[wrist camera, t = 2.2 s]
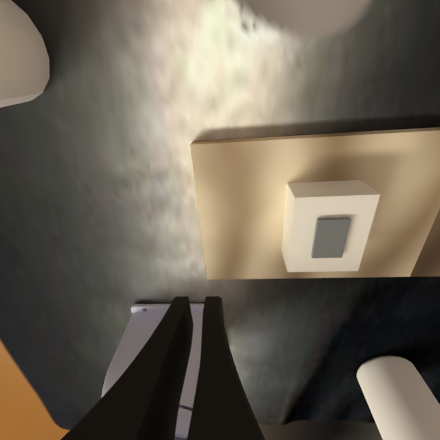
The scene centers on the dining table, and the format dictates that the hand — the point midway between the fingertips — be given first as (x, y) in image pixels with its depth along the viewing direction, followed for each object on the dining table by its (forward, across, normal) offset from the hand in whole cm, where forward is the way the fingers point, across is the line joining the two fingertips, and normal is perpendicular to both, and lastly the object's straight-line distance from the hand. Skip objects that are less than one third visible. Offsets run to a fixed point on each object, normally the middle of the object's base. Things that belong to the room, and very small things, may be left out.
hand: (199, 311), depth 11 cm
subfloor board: (+9, -12, 0) cm, 15 cm away
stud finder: (+8, -8, 0) cm, 12 cm away
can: (+10, -19, +22) cm, 31 cm away
